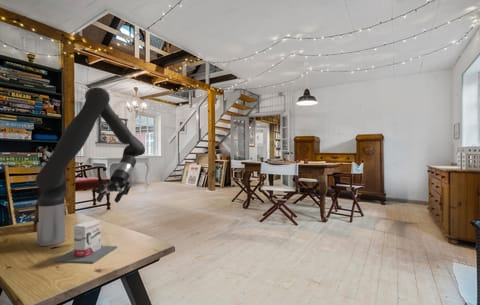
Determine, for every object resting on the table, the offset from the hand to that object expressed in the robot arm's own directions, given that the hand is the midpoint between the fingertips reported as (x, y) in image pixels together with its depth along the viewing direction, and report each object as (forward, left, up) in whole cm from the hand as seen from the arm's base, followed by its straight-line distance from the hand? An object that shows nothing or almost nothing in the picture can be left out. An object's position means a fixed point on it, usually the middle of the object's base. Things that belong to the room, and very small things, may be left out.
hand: (107, 201), depth 106 cm
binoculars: (-50, +18, -19) cm, 56 cm away
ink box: (0, -12, -18) cm, 22 cm away
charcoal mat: (0, -12, -18) cm, 22 cm away
